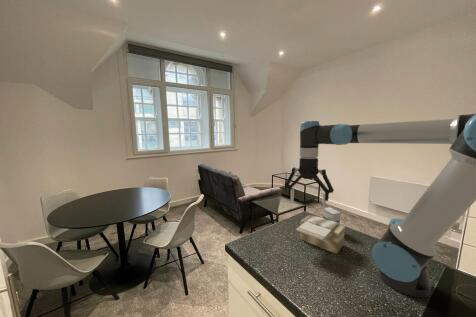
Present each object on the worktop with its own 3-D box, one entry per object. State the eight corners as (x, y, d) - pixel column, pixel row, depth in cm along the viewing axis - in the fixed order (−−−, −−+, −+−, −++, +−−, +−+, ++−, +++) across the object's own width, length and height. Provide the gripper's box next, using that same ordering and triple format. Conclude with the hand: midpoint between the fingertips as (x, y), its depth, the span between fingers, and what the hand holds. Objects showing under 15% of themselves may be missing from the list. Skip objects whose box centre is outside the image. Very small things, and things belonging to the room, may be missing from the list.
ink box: (321, 226, 114) (322, 207, 112) (328, 225, 115) (329, 206, 114) (332, 234, 106) (333, 213, 104) (339, 232, 107) (341, 212, 106)
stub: (331, 231, 89) (331, 229, 89) (322, 240, 82) (322, 238, 82) (305, 223, 97) (305, 221, 97) (296, 230, 90) (296, 228, 90)
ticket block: (343, 244, 96) (345, 224, 94) (336, 254, 89) (338, 231, 87) (308, 231, 108) (309, 213, 107) (299, 239, 101) (300, 219, 99)
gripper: (341, 157, 81) (339, 207, 83) (283, 155, 93) (282, 198, 96) (340, 160, 74) (338, 213, 77) (277, 157, 87) (277, 203, 90)
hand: (307, 205), depth 86 cm, fingers open, 13 cm apart
